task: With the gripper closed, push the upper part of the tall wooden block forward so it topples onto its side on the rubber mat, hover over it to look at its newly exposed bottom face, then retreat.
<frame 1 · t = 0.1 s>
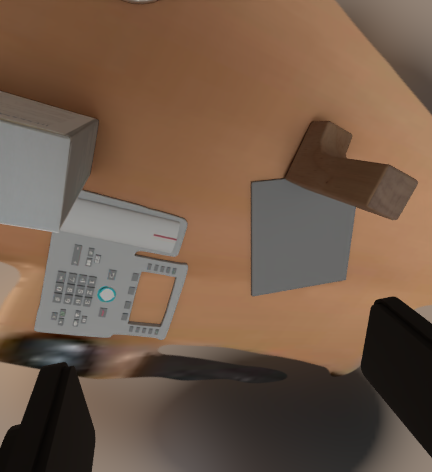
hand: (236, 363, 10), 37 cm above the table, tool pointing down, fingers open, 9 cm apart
hard drive box: (29, 131, 38), on the table
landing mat: (302, 235, 52), on the table
office telephone: (119, 271, 48), on the table
wooden block: (308, 156, 47), on the table, touching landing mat
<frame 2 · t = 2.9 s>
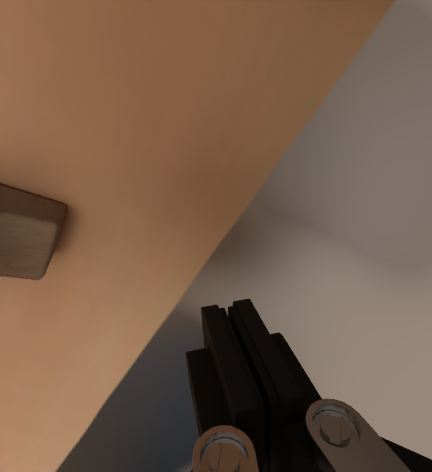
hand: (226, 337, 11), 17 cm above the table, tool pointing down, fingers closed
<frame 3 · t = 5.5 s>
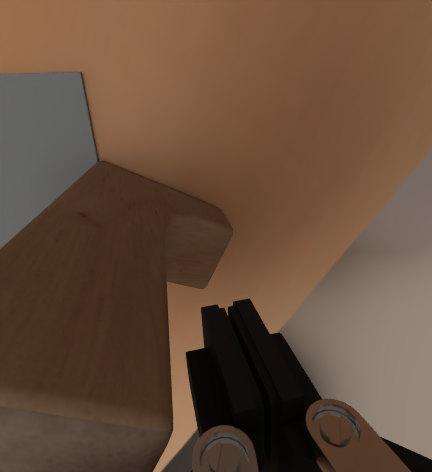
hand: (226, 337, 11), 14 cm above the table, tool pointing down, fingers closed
wooden block: (152, 213, 22), point 1 cm above the table, touching gripper, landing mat
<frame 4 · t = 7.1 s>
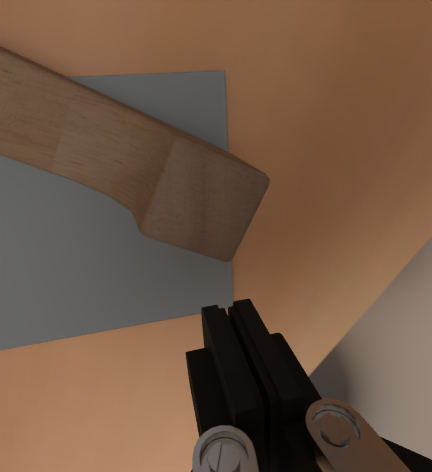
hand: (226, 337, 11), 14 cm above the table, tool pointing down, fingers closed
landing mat: (89, 222, 22), on the table
wooden block: (230, 198, 18), point 5 cm above the table, touching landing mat
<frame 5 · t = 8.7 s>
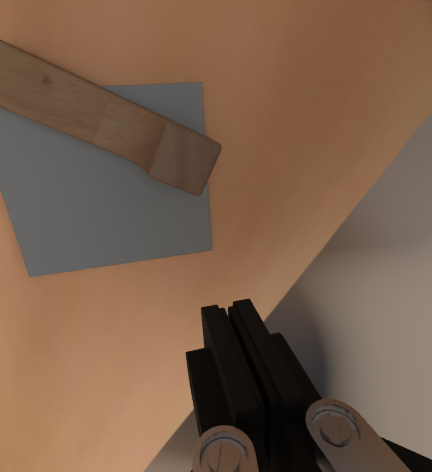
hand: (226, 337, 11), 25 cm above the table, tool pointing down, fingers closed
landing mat: (111, 183, 32), on the table
wooden block: (203, 163, 29), point 5 cm above the table, touching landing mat
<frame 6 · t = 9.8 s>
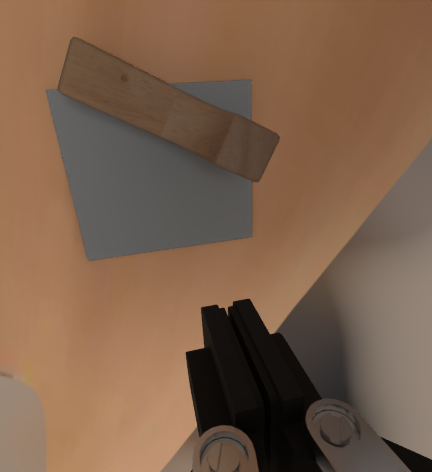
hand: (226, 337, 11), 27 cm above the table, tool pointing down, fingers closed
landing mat: (164, 174, 35), on the table
wooden block: (255, 154, 31), point 5 cm above the table, touching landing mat
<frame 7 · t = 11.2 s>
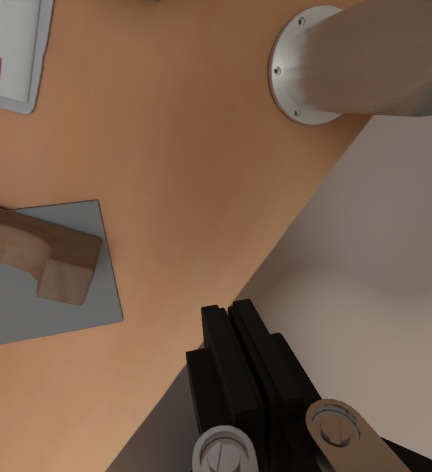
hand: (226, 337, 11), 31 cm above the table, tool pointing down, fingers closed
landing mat: (30, 277, 40), on the table
wooden block: (95, 270, 36), point 5 cm above the table, touching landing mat
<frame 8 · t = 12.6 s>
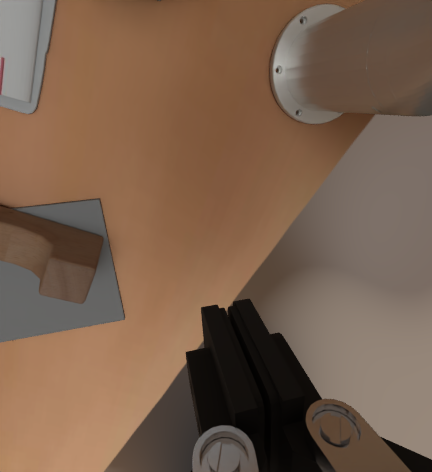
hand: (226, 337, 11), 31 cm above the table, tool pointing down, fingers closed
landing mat: (32, 275, 40), on the table
wooden block: (97, 268, 37), point 5 cm above the table, touching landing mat
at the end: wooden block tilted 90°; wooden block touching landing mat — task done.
